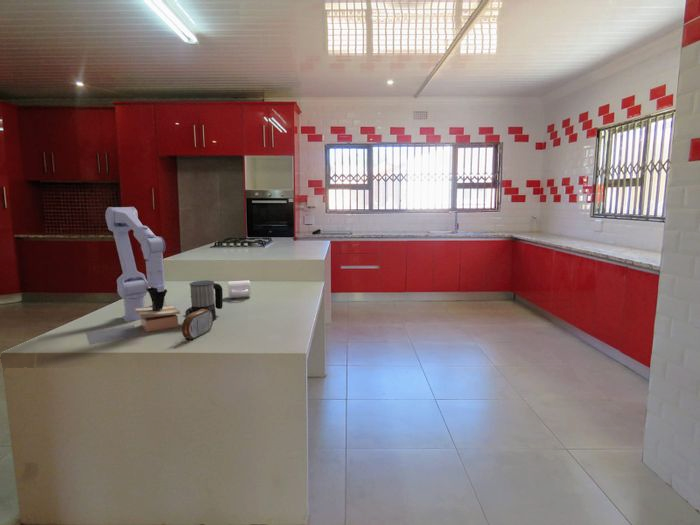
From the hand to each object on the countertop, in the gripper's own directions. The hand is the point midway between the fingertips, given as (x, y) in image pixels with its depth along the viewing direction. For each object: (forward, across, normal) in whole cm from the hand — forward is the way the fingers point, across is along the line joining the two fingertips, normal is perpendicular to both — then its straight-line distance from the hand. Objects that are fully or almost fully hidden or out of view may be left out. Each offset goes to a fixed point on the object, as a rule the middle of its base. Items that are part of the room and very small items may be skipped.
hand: (158, 307), depth 152 cm
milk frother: (+8, -4, +16) cm, 18 cm away
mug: (+8, -26, +41) cm, 49 cm away
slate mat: (+7, 0, -15) cm, 17 cm away
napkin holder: (+8, -32, +7) cm, 34 cm away
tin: (+8, +18, +9) cm, 22 cm away
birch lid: (+2, 0, 0) cm, 2 cm away
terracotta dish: (+7, 0, 0) cm, 7 cm away
